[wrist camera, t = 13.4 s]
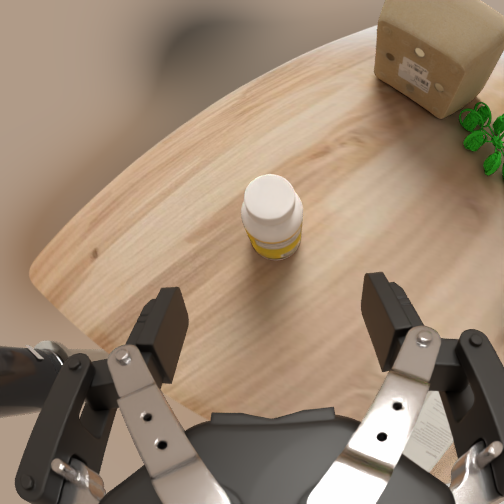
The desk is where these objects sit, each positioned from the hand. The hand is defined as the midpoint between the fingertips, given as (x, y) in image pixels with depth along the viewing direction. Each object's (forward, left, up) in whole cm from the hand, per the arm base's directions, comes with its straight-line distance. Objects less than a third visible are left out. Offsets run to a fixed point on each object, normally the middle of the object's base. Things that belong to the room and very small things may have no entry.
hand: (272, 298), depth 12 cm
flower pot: (+33, +13, -10) cm, 37 cm away
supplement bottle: (+5, +7, -18) cm, 20 cm away
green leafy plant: (+42, -1, -17) cm, 45 cm away
